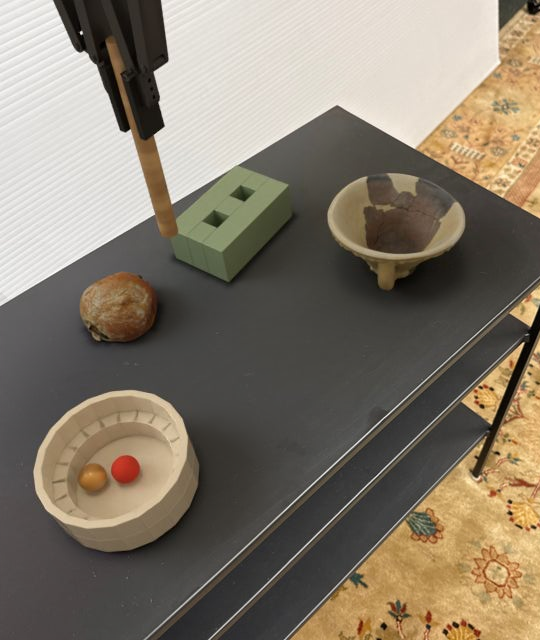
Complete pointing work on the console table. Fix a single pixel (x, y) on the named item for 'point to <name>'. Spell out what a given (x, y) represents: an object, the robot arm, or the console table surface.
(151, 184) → the stick
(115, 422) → the mixing bowl
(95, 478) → the bead
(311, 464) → the console table surface
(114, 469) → the bead
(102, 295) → the bread roll
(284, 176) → the console table surface
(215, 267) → the holder
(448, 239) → the bowl
